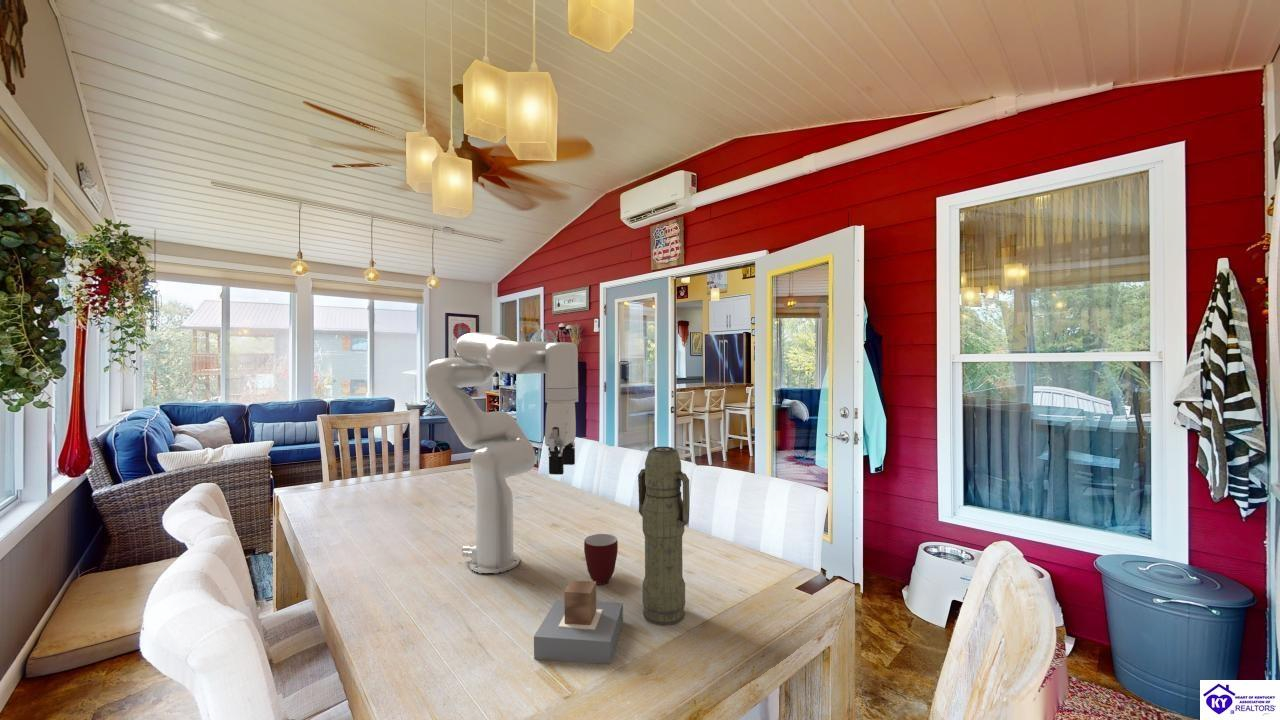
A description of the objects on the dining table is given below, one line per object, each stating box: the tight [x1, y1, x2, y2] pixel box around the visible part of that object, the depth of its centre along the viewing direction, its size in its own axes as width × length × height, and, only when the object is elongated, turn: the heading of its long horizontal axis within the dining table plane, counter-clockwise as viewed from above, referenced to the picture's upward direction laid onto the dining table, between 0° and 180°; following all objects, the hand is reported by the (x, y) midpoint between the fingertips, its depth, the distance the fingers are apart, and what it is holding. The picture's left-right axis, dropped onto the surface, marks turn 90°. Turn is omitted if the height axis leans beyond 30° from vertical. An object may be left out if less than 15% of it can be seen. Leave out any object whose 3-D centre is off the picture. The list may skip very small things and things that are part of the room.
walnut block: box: [563, 579, 597, 625], centre depth 96 cm, size 5×5×6 cm
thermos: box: [637, 446, 690, 626], centre depth 105 cm, size 9×12×35 cm
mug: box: [583, 533, 619, 585], centre depth 122 cm, size 10×8×10 cm
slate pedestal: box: [533, 598, 624, 665], centre depth 96 cm, size 14×14×4 cm
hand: (562, 469), depth 116 cm, fingers open, 9 cm apart
